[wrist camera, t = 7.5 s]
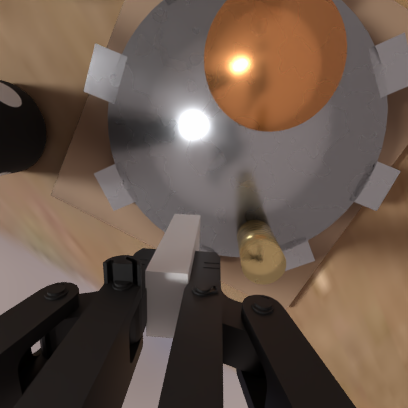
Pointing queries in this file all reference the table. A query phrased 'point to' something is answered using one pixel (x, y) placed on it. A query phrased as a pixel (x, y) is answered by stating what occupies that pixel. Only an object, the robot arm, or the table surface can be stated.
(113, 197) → the sprocket
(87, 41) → the table surface
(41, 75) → the table surface
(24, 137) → the beverage can
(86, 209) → the board
